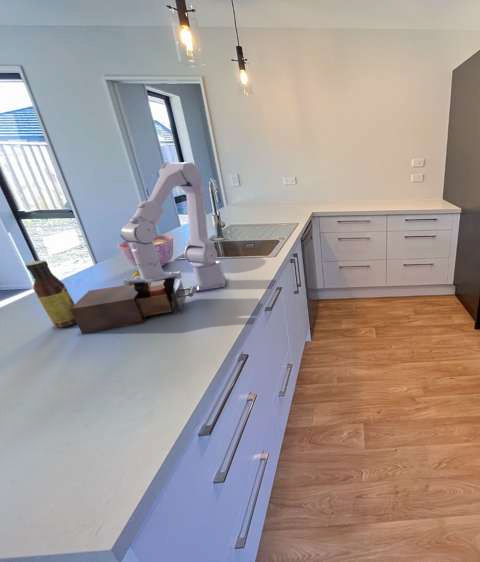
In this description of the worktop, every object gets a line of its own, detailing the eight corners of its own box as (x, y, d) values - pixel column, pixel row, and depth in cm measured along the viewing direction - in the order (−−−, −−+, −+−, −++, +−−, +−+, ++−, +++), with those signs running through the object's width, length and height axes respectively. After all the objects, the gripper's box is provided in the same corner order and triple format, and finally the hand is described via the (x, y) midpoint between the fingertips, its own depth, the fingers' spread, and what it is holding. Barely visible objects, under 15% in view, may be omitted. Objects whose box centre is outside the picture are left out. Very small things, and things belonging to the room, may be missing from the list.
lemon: (144, 294, 108) (136, 274, 105) (132, 293, 109) (124, 273, 106) (157, 288, 113) (150, 268, 110) (145, 287, 114) (138, 268, 111)
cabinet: (153, 304, 102) (145, 282, 98) (143, 322, 91) (133, 298, 88) (99, 313, 97) (89, 290, 93) (82, 334, 86) (69, 309, 83)
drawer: (199, 294, 106) (194, 278, 103) (195, 309, 96) (190, 291, 93) (139, 304, 100) (133, 287, 97) (129, 321, 90) (121, 302, 87)
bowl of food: (161, 274, 126) (152, 247, 122) (115, 274, 127) (104, 248, 122) (189, 257, 145) (182, 234, 140) (148, 258, 145) (140, 235, 140)
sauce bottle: (87, 319, 93) (58, 259, 85) (62, 330, 88) (29, 267, 80) (73, 316, 95) (44, 257, 87) (49, 326, 90) (14, 265, 82)
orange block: (173, 299, 100) (167, 283, 98) (170, 306, 96) (164, 289, 93) (155, 302, 98) (149, 286, 96) (152, 309, 94) (145, 292, 92)
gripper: (114, 270, 85) (131, 312, 91) (173, 262, 90) (185, 302, 96) (122, 262, 91) (137, 302, 97) (177, 255, 96) (188, 293, 102)
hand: (161, 301), depth 97 cm, fingers closed on orange block, 5 cm apart
